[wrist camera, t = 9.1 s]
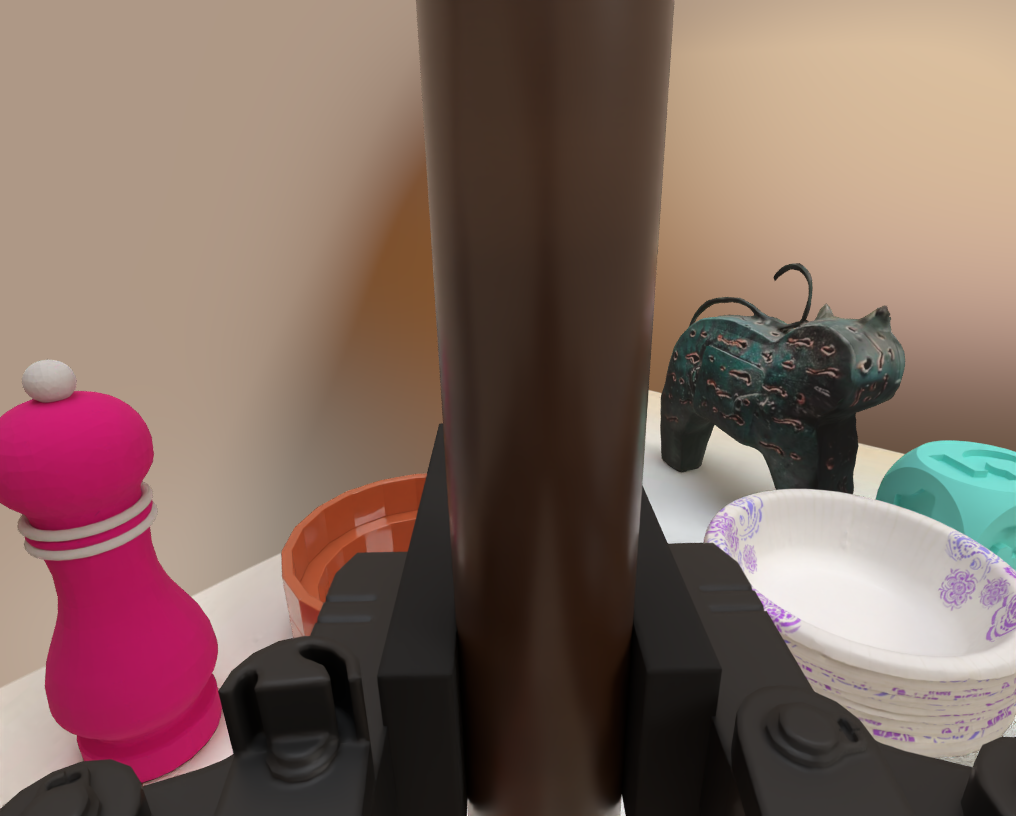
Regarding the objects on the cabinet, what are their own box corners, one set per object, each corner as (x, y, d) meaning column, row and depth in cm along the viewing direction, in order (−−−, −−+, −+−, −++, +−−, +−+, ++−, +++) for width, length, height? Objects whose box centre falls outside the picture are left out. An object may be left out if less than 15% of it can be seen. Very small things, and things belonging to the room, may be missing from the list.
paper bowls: (1090, 785, 28) (1153, 648, 25) (773, 829, 27) (801, 688, 24) (870, 579, 42) (894, 476, 39) (654, 600, 41) (663, 494, 38)
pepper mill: (68, 721, 33) (-68, 358, 25) (213, 658, 37) (132, 329, 29) (80, 829, 27) (-88, 406, 20) (249, 741, 31) (160, 363, 24)
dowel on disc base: (303, 1315, 9) (-272, -286, 3) (449, 894, 15) (374, 10, 8) (722, 1550, 8) (1792, -1028, 1) (714, 979, 13) (891, -43, 6)
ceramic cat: (871, 552, 45) (933, 276, 38) (805, 576, 43) (859, 286, 35) (692, 448, 62) (711, 244, 55) (638, 461, 60) (651, 249, 52)
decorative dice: (863, 540, 46) (885, 444, 44) (958, 530, 47) (985, 435, 45) (949, 611, 39) (982, 500, 36) (1059, 596, 40) (1100, 488, 37)
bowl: (238, 682, 35) (218, 595, 33) (374, 530, 49) (366, 462, 47) (514, 748, 31) (511, 653, 28) (574, 560, 45) (576, 487, 43)
